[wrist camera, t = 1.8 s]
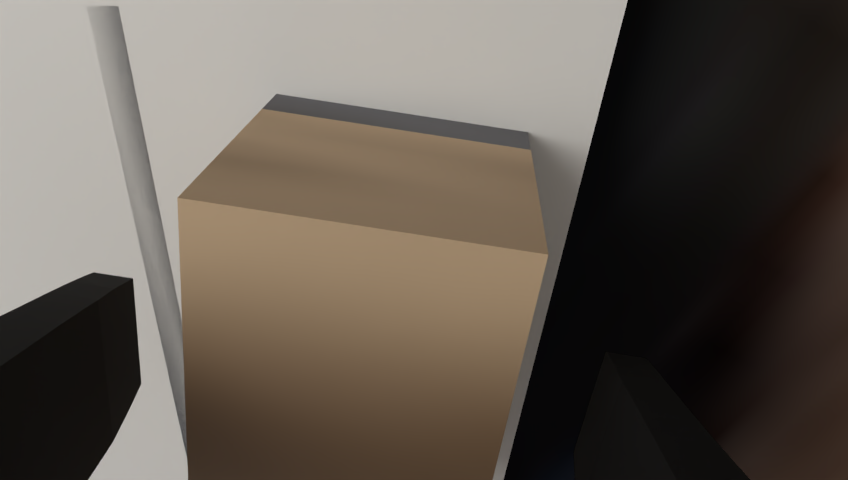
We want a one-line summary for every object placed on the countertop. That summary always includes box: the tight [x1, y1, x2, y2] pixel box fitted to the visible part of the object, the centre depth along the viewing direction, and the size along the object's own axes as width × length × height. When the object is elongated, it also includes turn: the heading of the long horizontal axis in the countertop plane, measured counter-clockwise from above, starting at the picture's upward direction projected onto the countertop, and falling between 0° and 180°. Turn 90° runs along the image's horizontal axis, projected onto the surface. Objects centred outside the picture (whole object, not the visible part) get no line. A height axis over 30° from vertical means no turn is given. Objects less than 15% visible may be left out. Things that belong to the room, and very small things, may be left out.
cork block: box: [177, 94, 548, 480], centre depth 11 cm, size 7×4×4 cm, turn 172°
